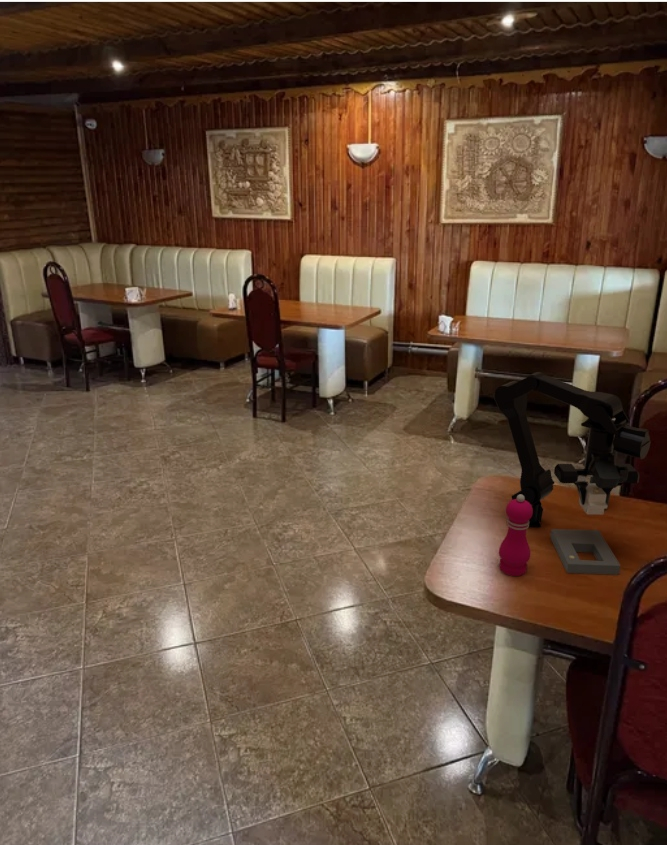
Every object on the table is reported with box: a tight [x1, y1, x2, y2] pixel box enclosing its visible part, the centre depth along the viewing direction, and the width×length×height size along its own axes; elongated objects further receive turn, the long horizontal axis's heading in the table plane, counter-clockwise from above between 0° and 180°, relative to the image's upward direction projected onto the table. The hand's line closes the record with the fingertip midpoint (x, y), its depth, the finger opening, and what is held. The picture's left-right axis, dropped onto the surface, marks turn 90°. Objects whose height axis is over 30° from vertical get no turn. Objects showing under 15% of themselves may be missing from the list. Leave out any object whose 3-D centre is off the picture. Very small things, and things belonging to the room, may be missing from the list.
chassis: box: [550, 528, 621, 576], centre depth 156 cm, size 12×16×3 cm
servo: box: [578, 481, 609, 516], centre depth 156 cm, size 4×9×6 cm, turn 178°
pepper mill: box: [498, 494, 533, 577], centre depth 148 cm, size 7×7×20 cm
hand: (591, 504), depth 157 cm, fingers closed on servo, 4 cm apart
